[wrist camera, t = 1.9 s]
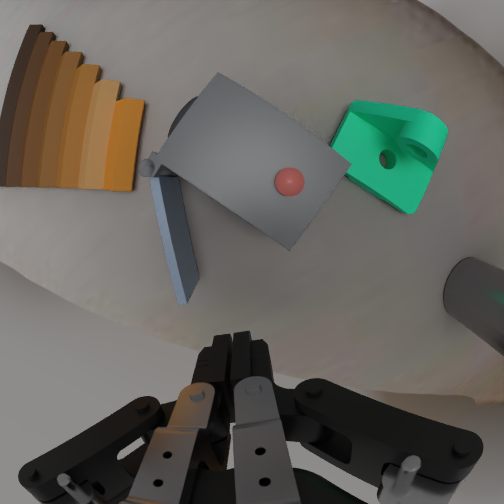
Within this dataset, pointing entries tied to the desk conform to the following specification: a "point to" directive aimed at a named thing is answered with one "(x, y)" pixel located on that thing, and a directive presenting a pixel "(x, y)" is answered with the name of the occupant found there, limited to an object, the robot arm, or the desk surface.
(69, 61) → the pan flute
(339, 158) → the housing
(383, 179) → the camera mount
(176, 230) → the door
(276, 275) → the desk surface
